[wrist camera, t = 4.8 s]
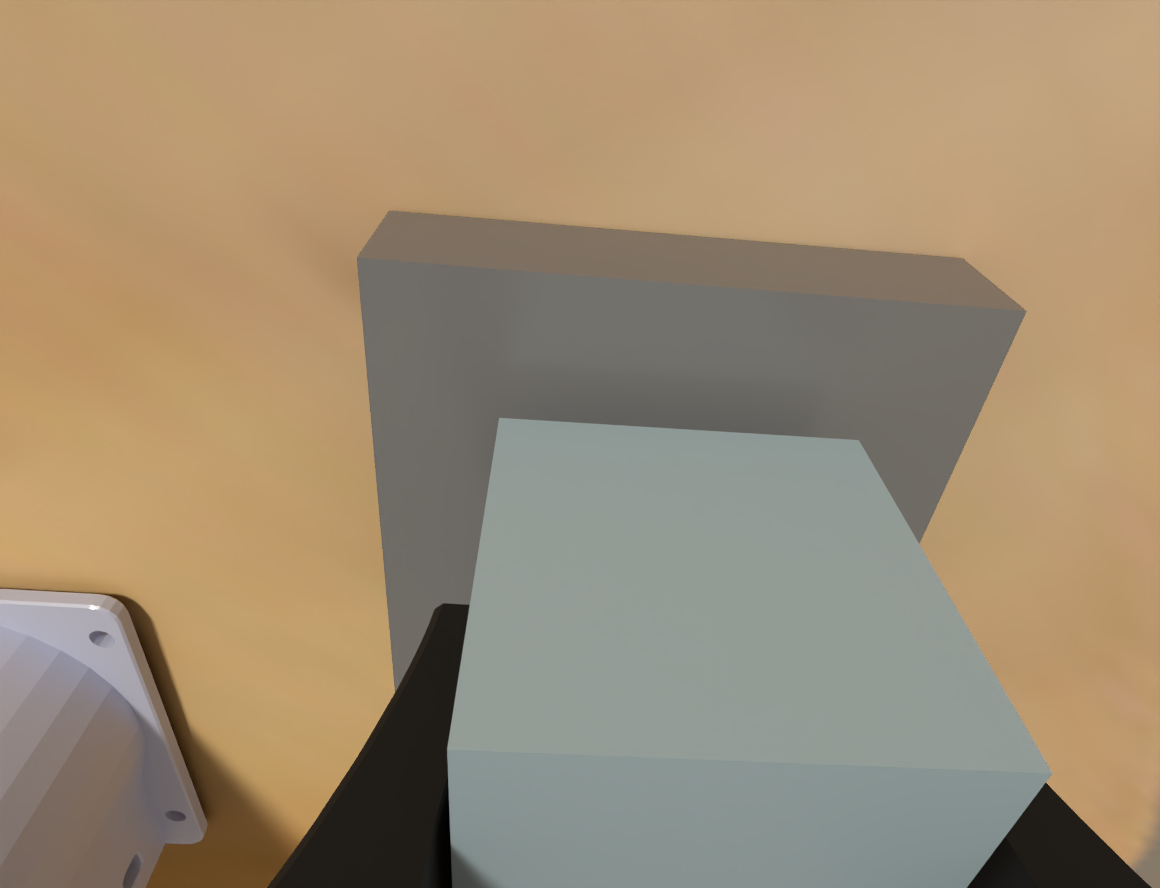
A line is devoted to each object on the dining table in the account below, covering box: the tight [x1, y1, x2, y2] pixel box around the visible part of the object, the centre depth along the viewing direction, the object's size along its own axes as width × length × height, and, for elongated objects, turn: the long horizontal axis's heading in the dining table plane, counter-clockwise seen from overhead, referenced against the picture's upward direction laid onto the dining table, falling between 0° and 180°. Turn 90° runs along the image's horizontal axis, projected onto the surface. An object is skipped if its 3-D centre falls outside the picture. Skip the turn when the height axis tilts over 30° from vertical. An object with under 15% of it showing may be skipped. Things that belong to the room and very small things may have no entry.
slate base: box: [357, 211, 1026, 692], centre depth 13 cm, size 9×9×2 cm
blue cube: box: [447, 418, 1052, 888], centre depth 9 cm, size 5×5×5 cm
